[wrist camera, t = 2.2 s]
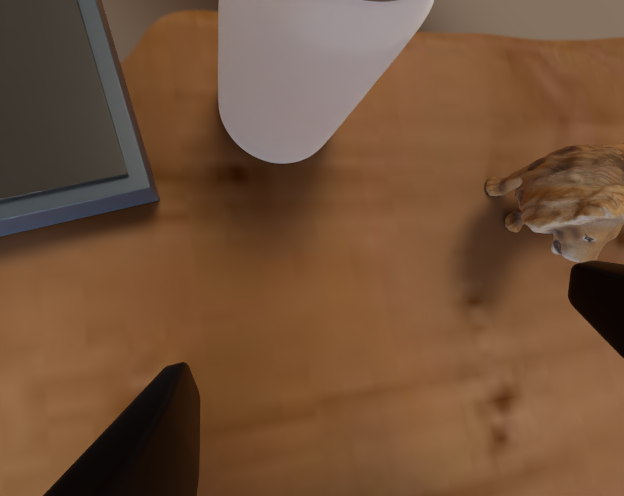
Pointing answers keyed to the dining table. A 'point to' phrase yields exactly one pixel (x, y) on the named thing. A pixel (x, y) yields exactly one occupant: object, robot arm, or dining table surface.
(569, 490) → the dining table surface
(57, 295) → the dining table surface
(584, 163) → the lion figurine
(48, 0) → the riser
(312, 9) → the can
